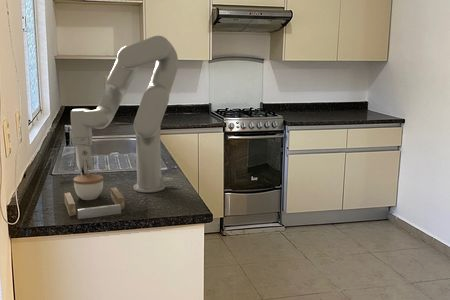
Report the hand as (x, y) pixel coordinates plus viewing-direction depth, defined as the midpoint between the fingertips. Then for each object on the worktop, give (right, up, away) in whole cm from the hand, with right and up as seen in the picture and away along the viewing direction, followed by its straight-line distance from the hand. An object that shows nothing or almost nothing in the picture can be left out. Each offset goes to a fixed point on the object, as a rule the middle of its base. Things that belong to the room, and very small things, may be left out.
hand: (84, 186), depth 193 cm
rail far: (+1, -6, -23) cm, 24 cm away
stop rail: (+13, -8, -29) cm, 33 cm away
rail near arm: (+16, -5, -16) cm, 23 cm away
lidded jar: (+4, -4, -9) cm, 11 cm away
